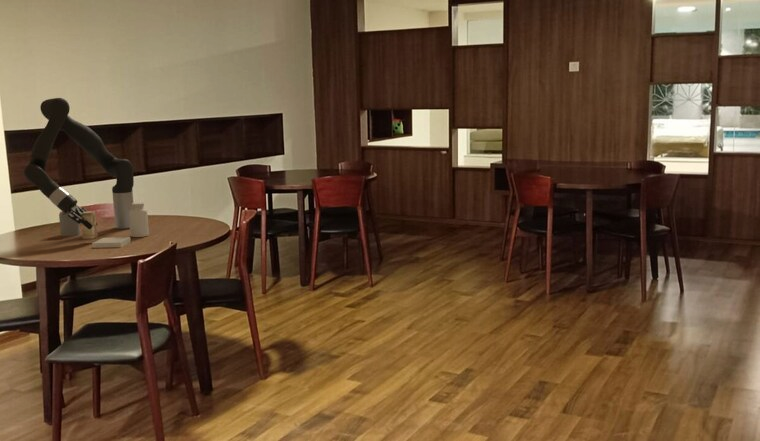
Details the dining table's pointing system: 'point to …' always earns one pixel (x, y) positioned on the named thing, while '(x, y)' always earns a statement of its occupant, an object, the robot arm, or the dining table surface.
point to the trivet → (111, 242)
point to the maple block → (91, 219)
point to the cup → (68, 225)
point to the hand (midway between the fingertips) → (93, 226)
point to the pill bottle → (138, 220)
